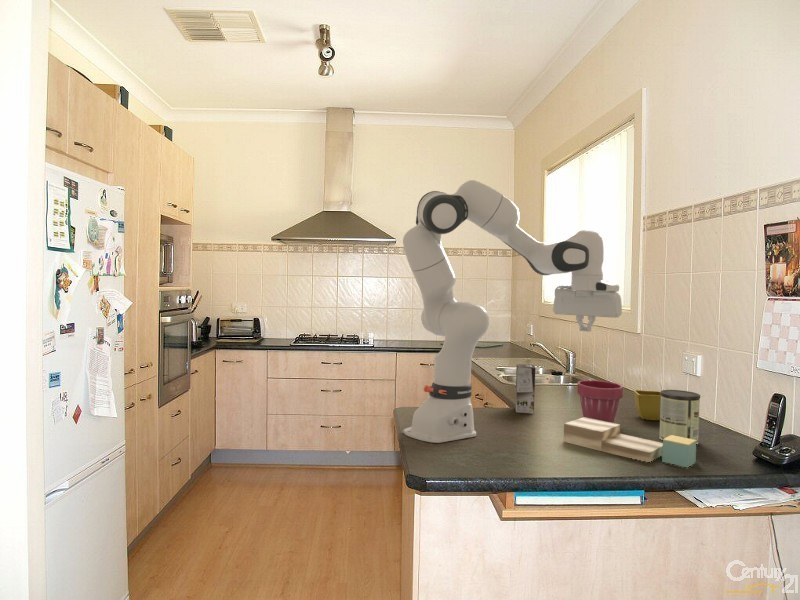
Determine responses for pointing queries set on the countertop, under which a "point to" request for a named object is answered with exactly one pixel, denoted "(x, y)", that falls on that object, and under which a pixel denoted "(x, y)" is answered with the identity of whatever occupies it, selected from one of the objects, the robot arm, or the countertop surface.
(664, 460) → the teal cube
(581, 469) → the countertop surface
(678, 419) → the coffee can
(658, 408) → the flower pot
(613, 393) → the plant pot
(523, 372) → the coffee box
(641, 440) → the stair
